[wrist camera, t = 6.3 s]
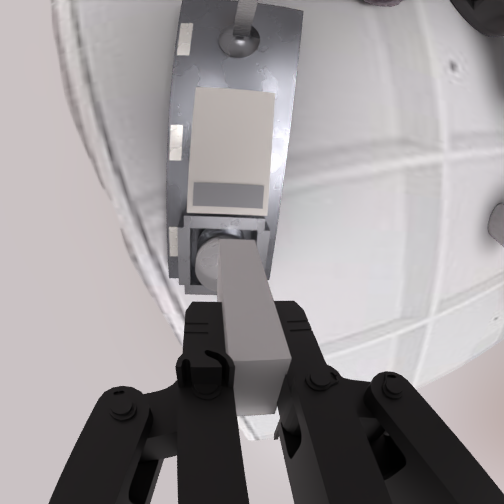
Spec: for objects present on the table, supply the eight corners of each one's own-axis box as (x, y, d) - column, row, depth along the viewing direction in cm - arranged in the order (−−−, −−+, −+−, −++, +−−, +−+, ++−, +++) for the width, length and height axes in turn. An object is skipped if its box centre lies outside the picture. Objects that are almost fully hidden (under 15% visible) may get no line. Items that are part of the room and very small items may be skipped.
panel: (185, 7, 18) (178, -14, 13) (295, 18, 19) (314, 0, 15) (171, 265, 30) (165, 296, 25) (265, 267, 31) (274, 297, 27)
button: (197, 222, 25) (195, 243, 21) (247, 224, 25) (253, 244, 22) (196, 266, 27) (195, 291, 23) (243, 267, 27) (248, 292, 24)
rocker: (196, 92, 19) (195, 86, 17) (271, 97, 20) (275, 92, 18) (188, 211, 21) (186, 212, 19) (264, 214, 21) (267, 216, 20)
